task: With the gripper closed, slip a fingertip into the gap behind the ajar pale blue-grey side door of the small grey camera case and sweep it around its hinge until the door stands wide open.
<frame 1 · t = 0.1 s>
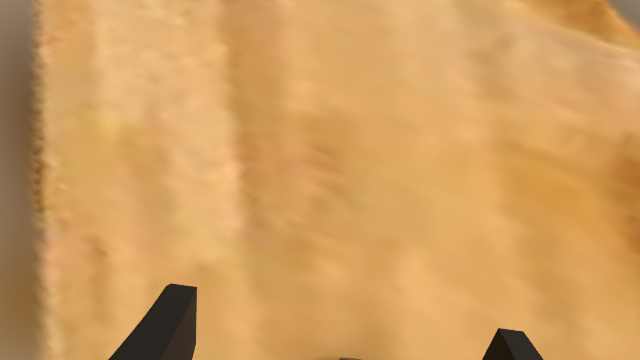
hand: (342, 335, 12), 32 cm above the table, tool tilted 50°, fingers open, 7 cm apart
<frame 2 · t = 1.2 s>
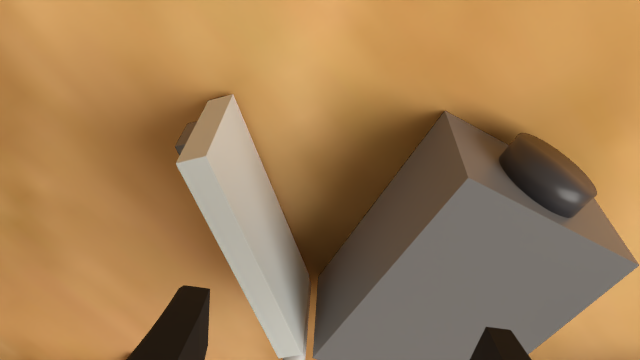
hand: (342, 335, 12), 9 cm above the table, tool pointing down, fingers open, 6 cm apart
camera case: (442, 236, 23), on the table
side door: (254, 240, 20), point 2 cm above the table, hinge at 45.0°
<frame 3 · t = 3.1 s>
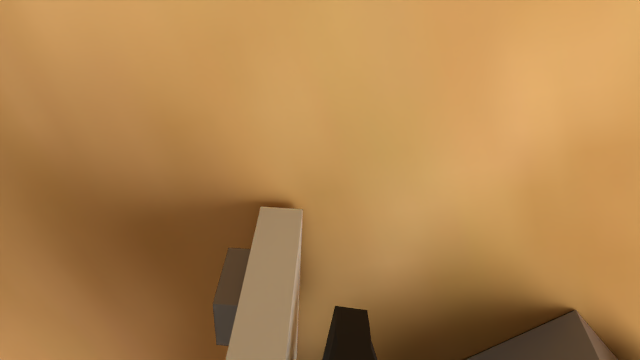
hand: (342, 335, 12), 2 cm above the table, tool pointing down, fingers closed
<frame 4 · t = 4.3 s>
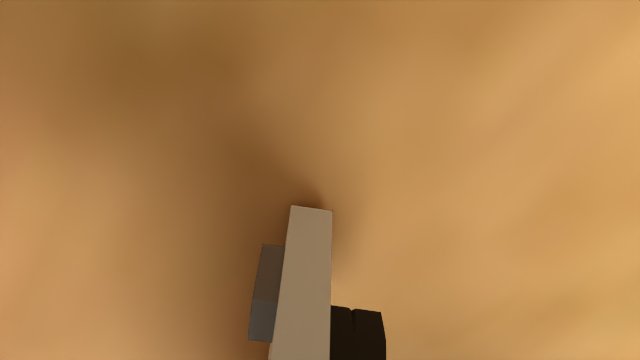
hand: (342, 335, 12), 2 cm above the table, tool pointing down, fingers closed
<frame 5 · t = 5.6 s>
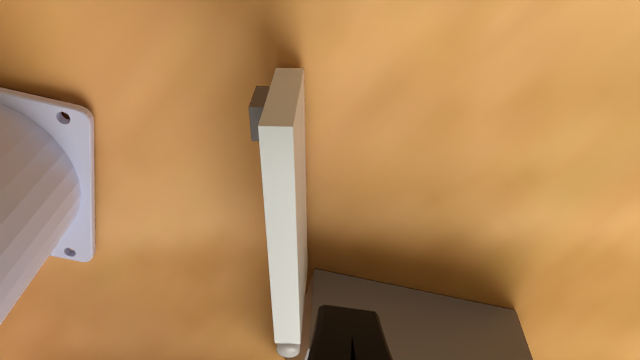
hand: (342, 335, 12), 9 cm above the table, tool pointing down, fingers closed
camera case: (394, 336, 26), on the table
side door: (282, 220, 19), point 2 cm above the table, hinge at 103.6°
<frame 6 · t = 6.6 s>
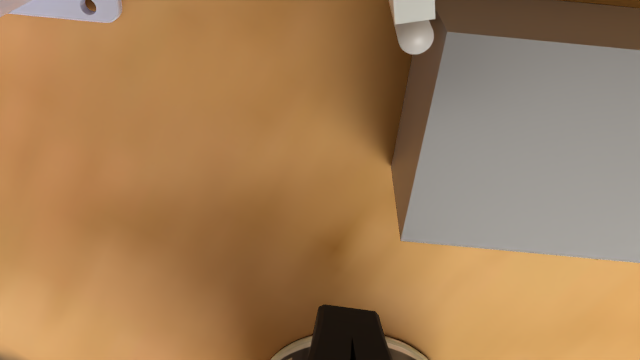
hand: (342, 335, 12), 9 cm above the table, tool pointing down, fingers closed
camera case: (542, 99, 19), on the table
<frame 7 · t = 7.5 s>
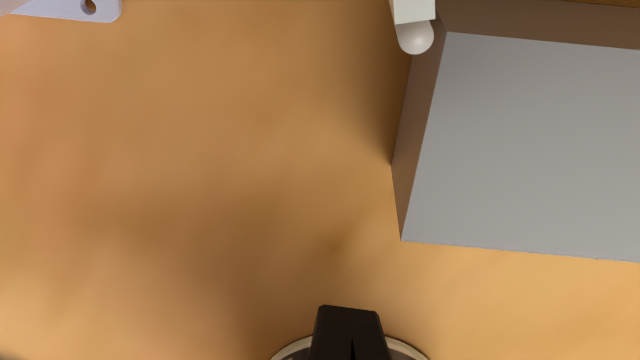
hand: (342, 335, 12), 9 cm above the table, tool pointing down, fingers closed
camera case: (542, 99, 19), on the table
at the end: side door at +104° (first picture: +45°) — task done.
